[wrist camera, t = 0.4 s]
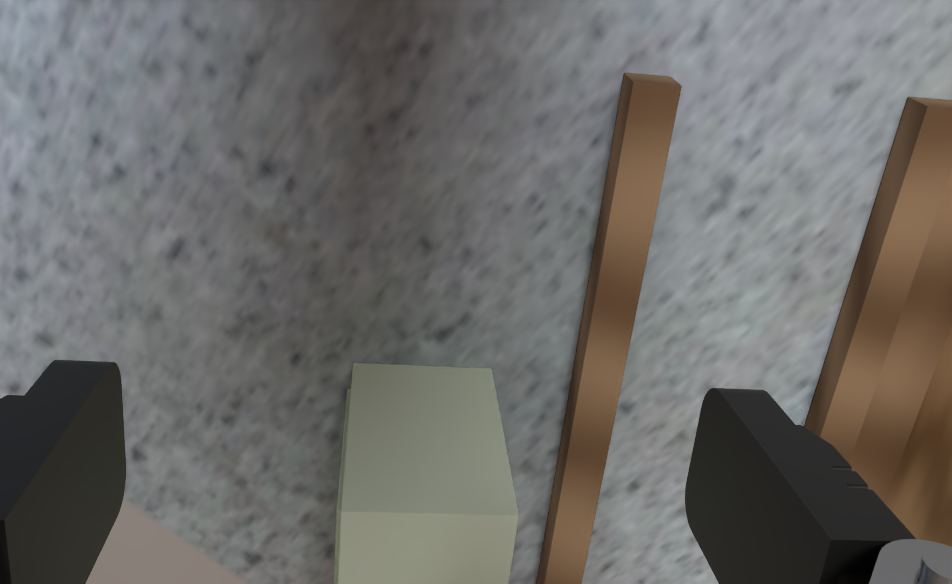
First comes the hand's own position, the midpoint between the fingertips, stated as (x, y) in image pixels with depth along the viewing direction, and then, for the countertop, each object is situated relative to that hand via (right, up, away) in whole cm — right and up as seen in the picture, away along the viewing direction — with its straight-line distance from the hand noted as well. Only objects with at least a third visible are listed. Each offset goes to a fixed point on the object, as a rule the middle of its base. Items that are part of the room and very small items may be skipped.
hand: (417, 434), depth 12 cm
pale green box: (-1, -3, +21) cm, 22 cm away
